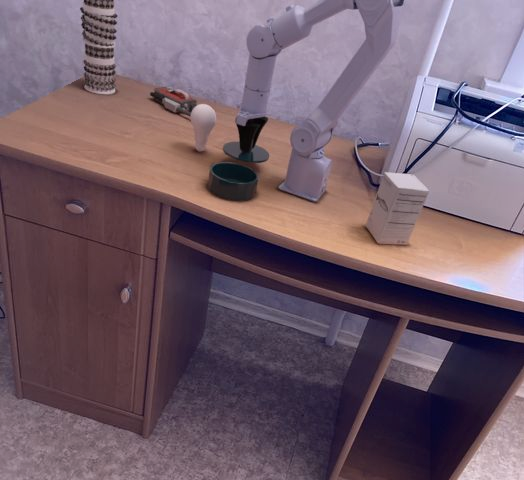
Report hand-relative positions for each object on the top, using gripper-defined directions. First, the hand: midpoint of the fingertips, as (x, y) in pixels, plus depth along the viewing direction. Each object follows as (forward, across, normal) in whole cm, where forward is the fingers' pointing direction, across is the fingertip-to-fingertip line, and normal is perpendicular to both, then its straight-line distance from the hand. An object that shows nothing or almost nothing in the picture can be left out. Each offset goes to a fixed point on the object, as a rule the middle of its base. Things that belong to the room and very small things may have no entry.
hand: (247, 148), depth 124 cm
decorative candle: (+5, -18, -53) cm, 56 cm away
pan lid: (+1, 0, 0) cm, 1 cm away
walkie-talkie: (+5, -23, -30) cm, 38 cm away
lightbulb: (+5, 0, -12) cm, 13 cm away
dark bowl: (+4, +14, +3) cm, 15 cm away
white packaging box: (+4, +10, +38) cm, 40 cm away
